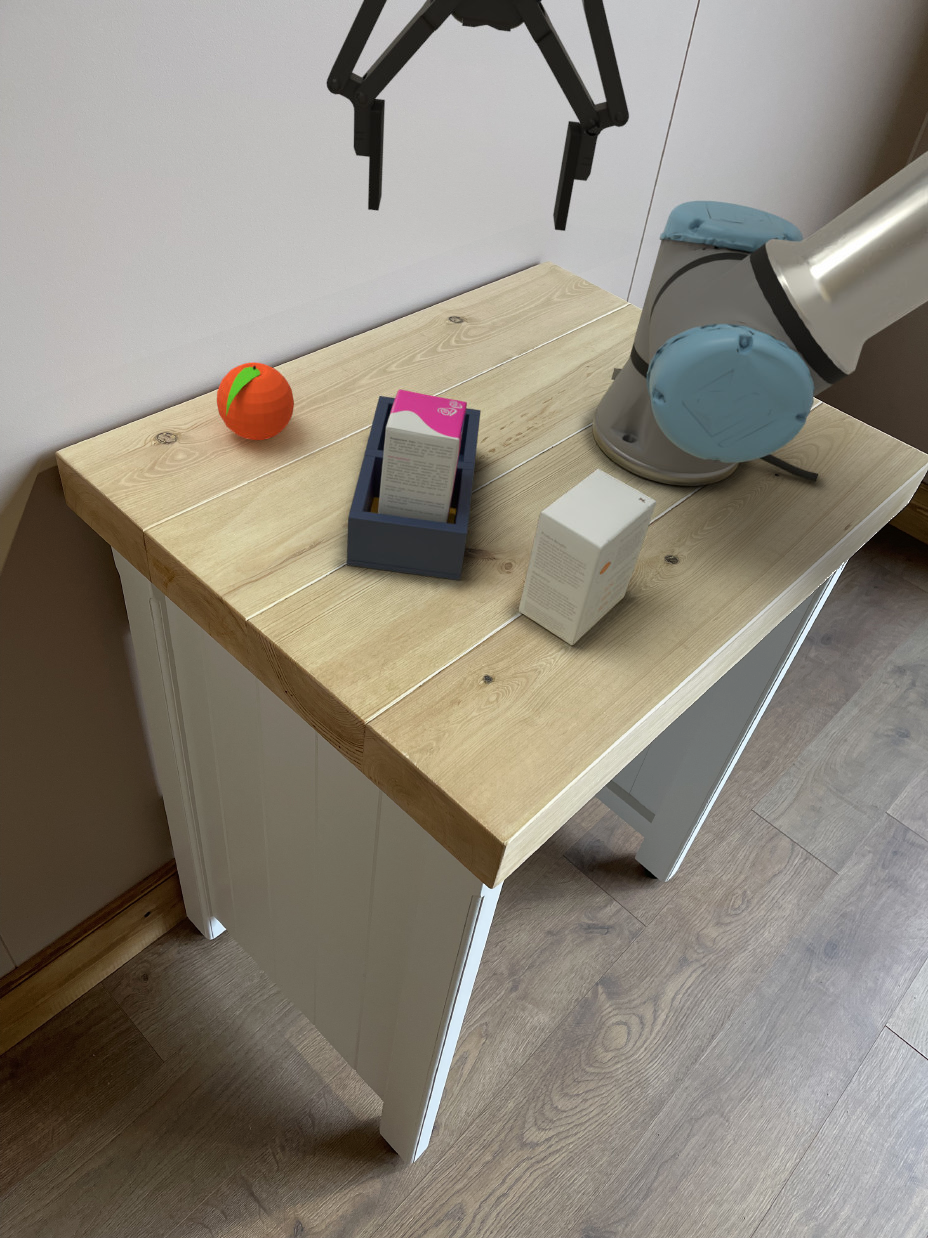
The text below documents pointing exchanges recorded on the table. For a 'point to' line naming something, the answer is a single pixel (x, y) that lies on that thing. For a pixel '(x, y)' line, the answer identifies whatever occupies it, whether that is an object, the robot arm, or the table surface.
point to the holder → (407, 538)
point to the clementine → (255, 401)
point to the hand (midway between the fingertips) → (467, 213)
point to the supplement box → (421, 456)
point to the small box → (584, 554)
